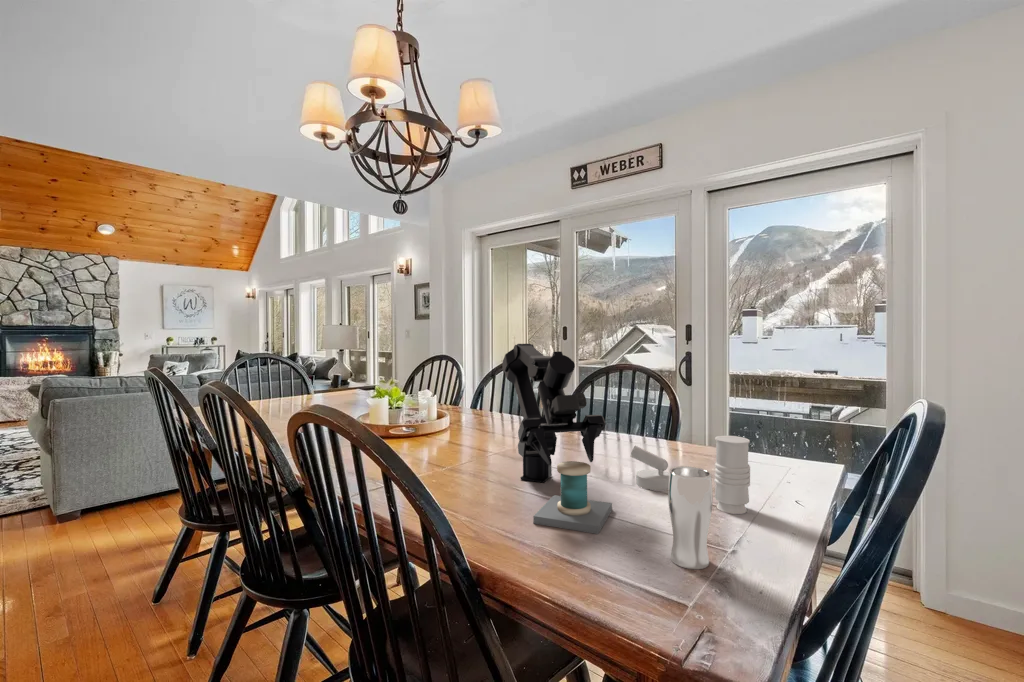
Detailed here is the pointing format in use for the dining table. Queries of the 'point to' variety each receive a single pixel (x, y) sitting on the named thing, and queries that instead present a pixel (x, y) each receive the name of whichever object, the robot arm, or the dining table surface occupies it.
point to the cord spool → (574, 488)
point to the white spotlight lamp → (651, 477)
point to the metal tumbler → (690, 515)
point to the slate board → (584, 523)
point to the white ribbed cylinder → (732, 474)
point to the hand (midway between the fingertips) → (571, 462)
